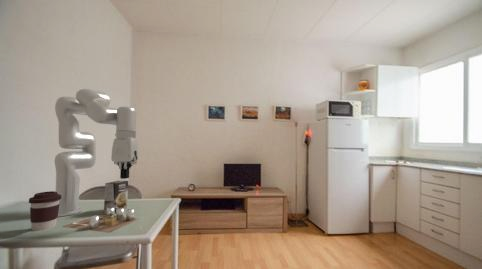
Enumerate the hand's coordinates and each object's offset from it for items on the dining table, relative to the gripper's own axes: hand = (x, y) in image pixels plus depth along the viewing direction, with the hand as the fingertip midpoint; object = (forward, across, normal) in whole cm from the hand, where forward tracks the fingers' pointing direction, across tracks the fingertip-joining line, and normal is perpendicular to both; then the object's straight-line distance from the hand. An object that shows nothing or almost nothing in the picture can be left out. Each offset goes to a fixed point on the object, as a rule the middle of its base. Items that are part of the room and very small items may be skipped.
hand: (124, 178), depth 90 cm
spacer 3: (+20, -7, +6) cm, 22 cm away
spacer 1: (+20, -9, -6) cm, 22 cm away
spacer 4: (+20, -2, +6) cm, 20 cm away
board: (+21, -11, 0) cm, 23 cm away
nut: (+20, -7, 0) cm, 21 cm away
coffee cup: (+21, -30, -10) cm, 38 cm away
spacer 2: (+19, -13, +6) cm, 24 cm away
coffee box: (+21, -19, +15) cm, 32 cm away
